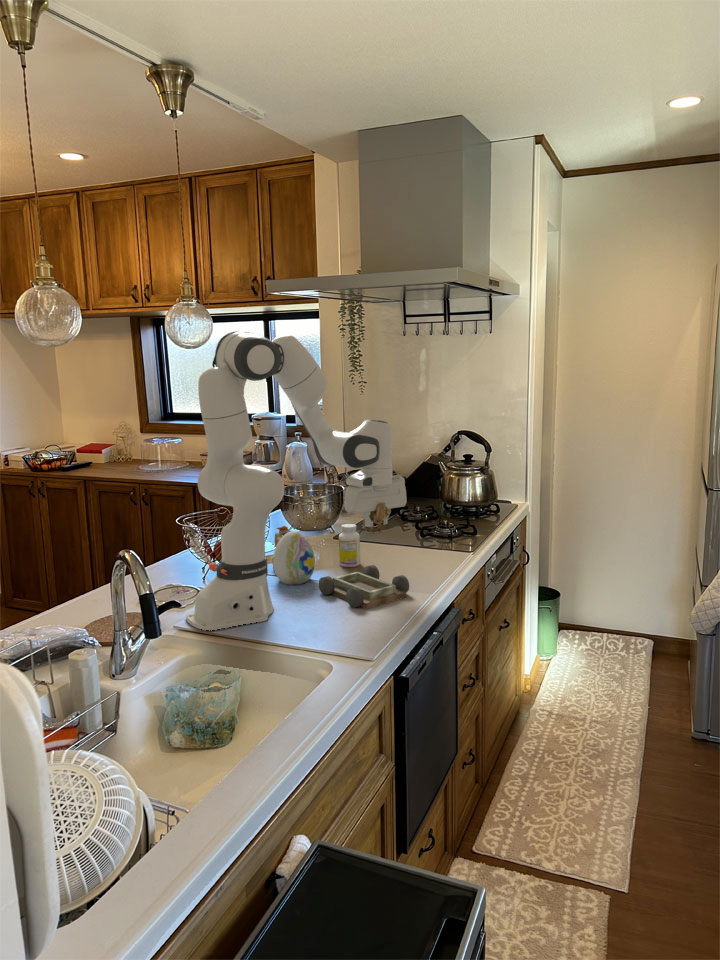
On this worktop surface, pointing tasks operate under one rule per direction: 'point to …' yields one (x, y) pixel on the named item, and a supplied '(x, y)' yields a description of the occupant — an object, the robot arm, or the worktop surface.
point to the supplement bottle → (349, 546)
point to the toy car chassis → (364, 588)
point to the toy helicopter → (280, 535)
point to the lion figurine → (377, 517)
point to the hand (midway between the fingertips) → (376, 525)
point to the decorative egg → (294, 559)
